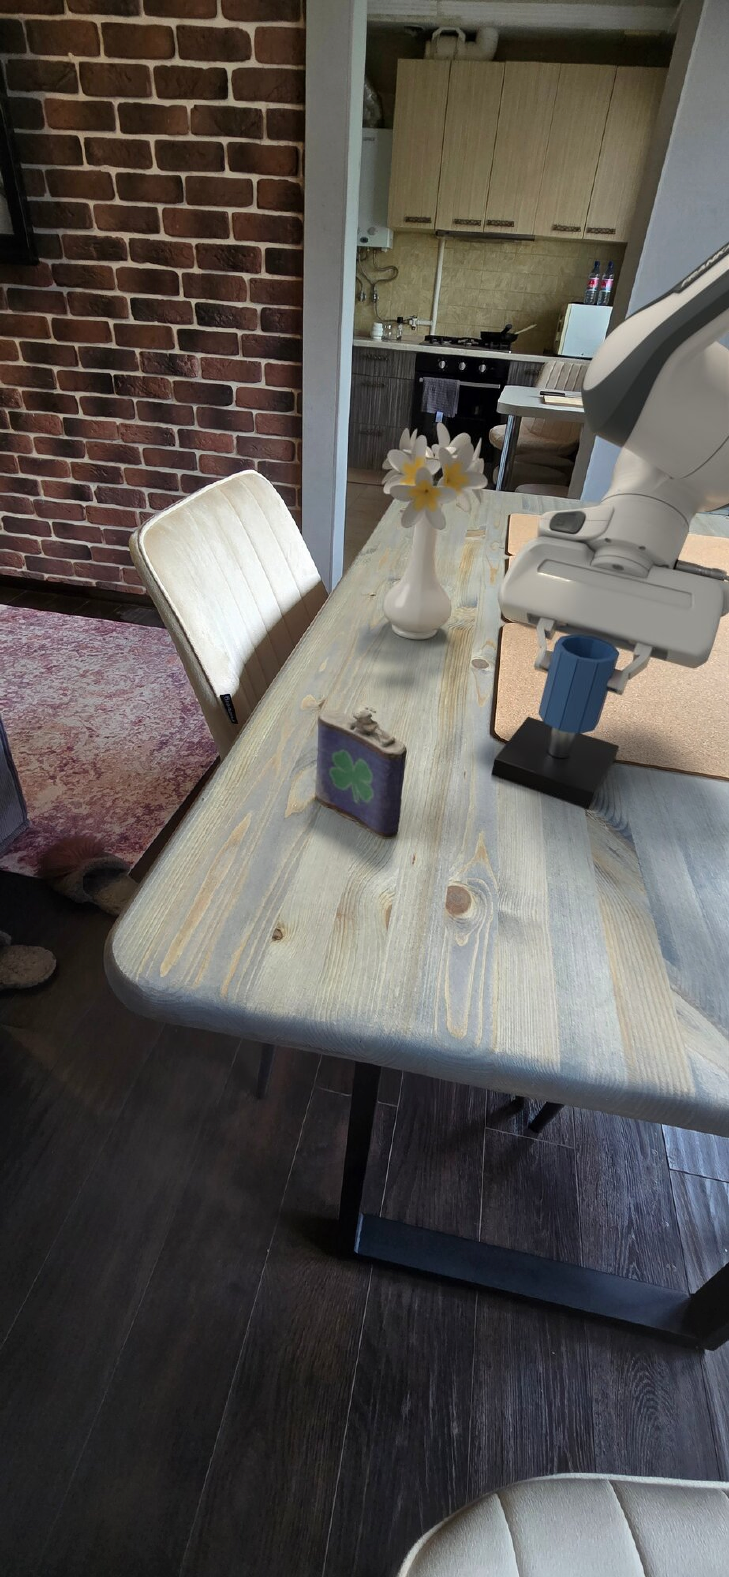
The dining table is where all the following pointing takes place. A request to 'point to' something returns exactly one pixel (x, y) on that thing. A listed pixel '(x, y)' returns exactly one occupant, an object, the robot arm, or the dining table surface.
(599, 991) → the dining table surface
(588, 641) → the sleeve
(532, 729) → the black base with post
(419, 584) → the flower vase
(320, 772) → the flask
